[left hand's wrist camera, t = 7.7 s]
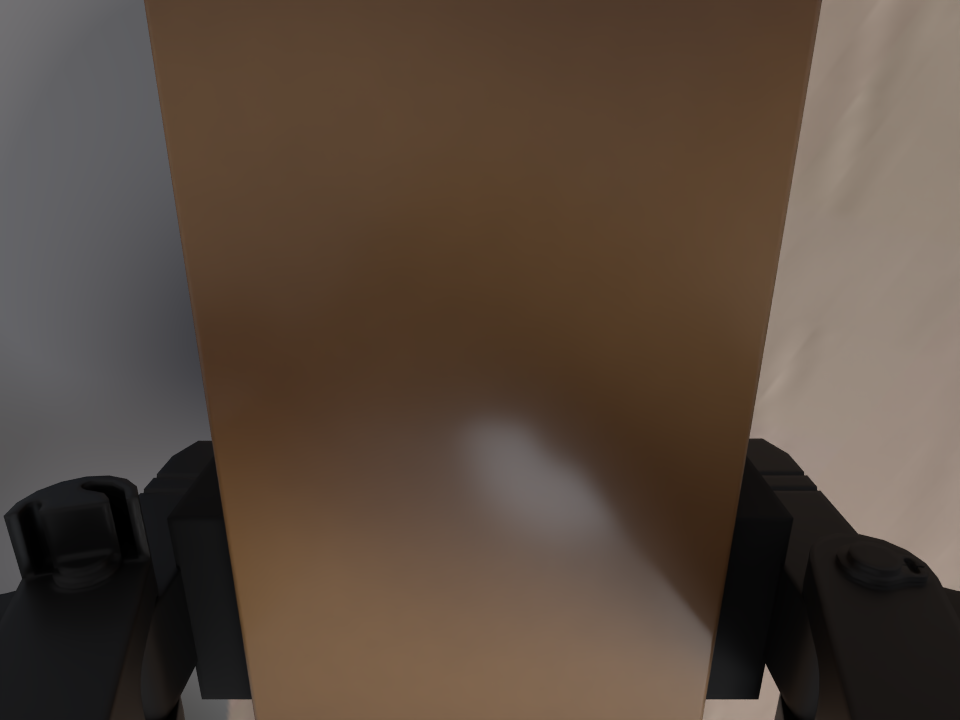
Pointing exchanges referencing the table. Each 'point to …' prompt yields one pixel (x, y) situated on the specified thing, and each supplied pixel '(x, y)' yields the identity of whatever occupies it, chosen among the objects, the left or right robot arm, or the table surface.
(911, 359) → the table surface
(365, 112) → the post
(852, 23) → the table surface
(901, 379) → the table surface
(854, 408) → the table surface
